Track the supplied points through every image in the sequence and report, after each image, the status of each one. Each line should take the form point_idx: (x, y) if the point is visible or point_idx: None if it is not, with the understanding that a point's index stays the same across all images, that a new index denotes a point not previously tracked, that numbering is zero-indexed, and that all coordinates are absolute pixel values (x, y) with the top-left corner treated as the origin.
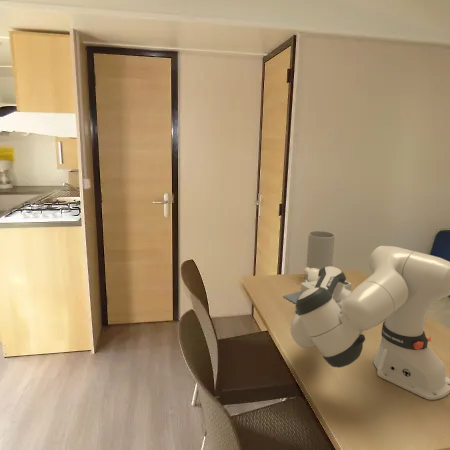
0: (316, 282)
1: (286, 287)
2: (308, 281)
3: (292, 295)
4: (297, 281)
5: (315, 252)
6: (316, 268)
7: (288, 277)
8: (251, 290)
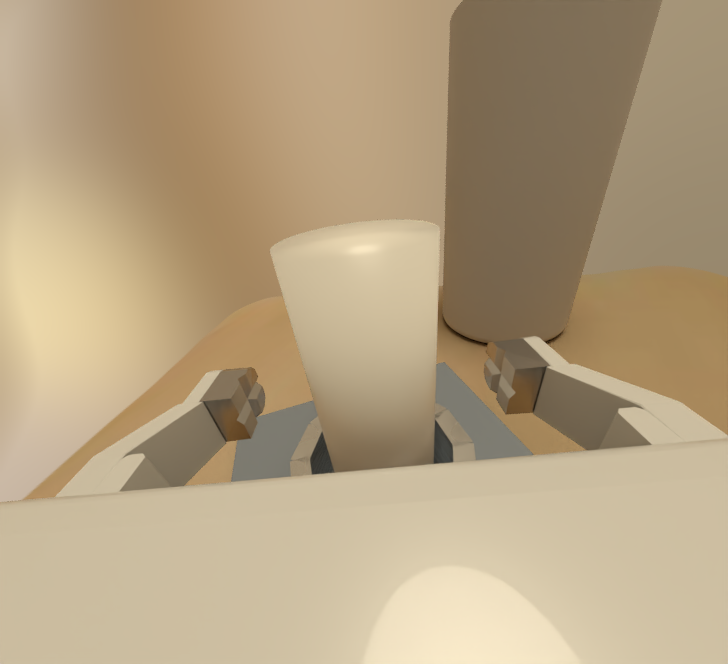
0: (88, 626)
1: None
2: (227, 409)
3: (294, 421)
4: None
5: (481, 141)
6: (407, 220)
7: None
8: (185, 360)
